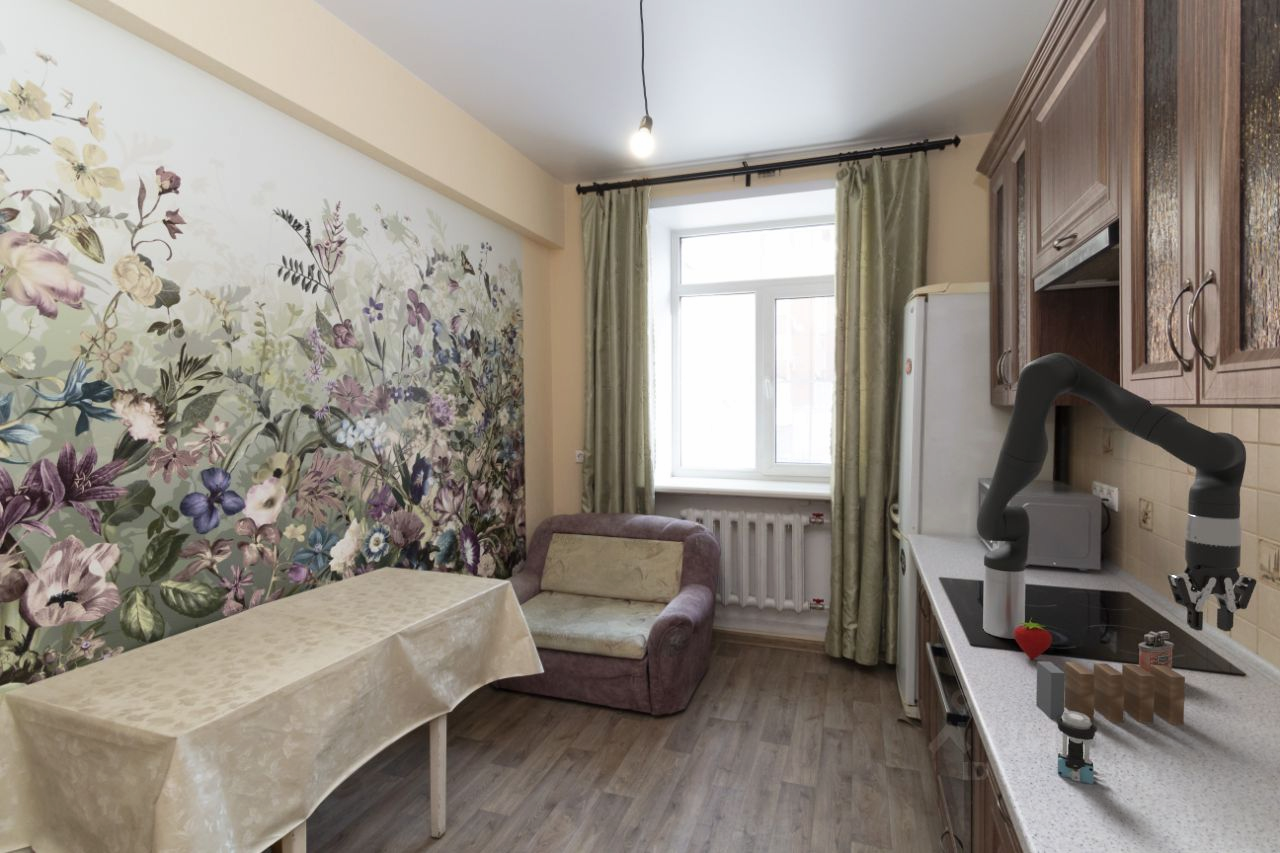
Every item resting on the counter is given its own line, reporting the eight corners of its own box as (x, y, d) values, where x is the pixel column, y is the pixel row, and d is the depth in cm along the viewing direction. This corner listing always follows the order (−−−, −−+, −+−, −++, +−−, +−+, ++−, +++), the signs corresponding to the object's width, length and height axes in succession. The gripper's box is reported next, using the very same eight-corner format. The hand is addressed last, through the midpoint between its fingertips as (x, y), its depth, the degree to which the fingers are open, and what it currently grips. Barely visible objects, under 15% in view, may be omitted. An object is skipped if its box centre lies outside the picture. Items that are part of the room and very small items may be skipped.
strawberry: (1052, 667, 137) (1053, 623, 136) (1013, 660, 141) (1014, 618, 140) (1050, 657, 142) (1051, 615, 141) (1013, 650, 146) (1013, 610, 145)
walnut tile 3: (1109, 721, 114) (1110, 674, 114) (1092, 707, 119) (1093, 663, 119) (1123, 722, 114) (1124, 675, 113) (1105, 708, 119) (1106, 663, 118)
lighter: (1149, 684, 128) (1151, 637, 128) (1133, 676, 132) (1134, 631, 131) (1177, 678, 131) (1178, 633, 130) (1160, 672, 134) (1161, 627, 133)
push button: (1105, 776, 98) (1106, 716, 97) (1107, 794, 93) (1108, 731, 93) (1055, 763, 101) (1056, 704, 101) (1055, 779, 97) (1056, 718, 97)
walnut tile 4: (1080, 720, 115) (1081, 673, 114) (1064, 706, 120) (1065, 662, 119) (1093, 720, 114) (1094, 674, 114) (1077, 707, 119) (1078, 662, 119)
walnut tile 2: (1139, 722, 113) (1140, 675, 113) (1121, 709, 118) (1122, 664, 118) (1153, 723, 113) (1154, 676, 113) (1134, 709, 118) (1135, 664, 118)
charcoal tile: (1050, 718, 115) (1051, 672, 115) (1036, 705, 120) (1037, 661, 120) (1064, 719, 115) (1064, 673, 114) (1049, 706, 120) (1050, 661, 119)
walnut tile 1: (1169, 723, 113) (1170, 676, 112) (1149, 710, 118) (1151, 664, 117) (1183, 724, 113) (1184, 677, 112) (1163, 710, 118) (1164, 665, 117)
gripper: (1186, 543, 110) (1184, 636, 111) (1273, 544, 108) (1270, 638, 109) (1156, 534, 117) (1153, 621, 118) (1237, 535, 116) (1234, 623, 117)
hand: (1209, 629), depth 114 cm, fingers open, 4 cm apart
